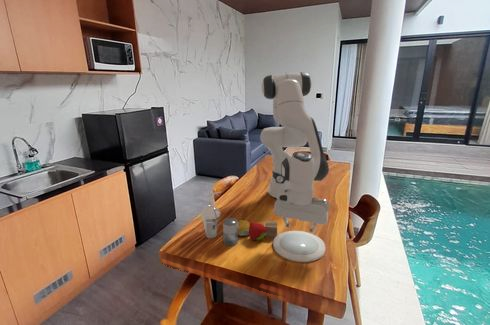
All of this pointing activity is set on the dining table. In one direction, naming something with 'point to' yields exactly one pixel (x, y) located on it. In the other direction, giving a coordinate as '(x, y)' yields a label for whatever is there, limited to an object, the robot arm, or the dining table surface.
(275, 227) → the walnut block
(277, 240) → the plate
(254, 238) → the strawberry
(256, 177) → the dining table surface
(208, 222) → the cup with straw
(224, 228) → the drinking glass
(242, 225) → the bread roll
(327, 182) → the dining table surface
